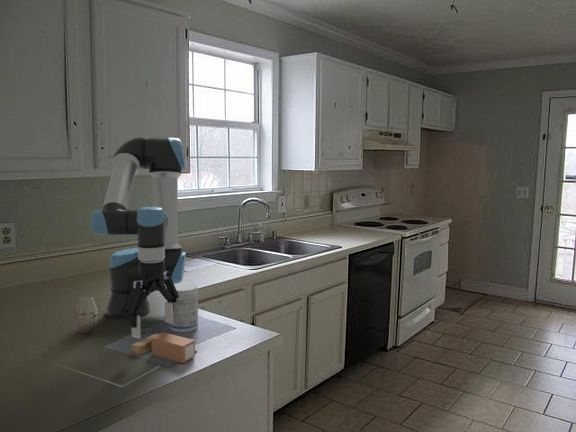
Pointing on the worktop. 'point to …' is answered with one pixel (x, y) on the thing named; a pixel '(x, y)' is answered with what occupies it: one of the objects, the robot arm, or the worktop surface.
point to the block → (173, 347)
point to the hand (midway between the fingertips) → (153, 329)
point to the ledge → (142, 346)
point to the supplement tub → (185, 308)
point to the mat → (125, 347)
